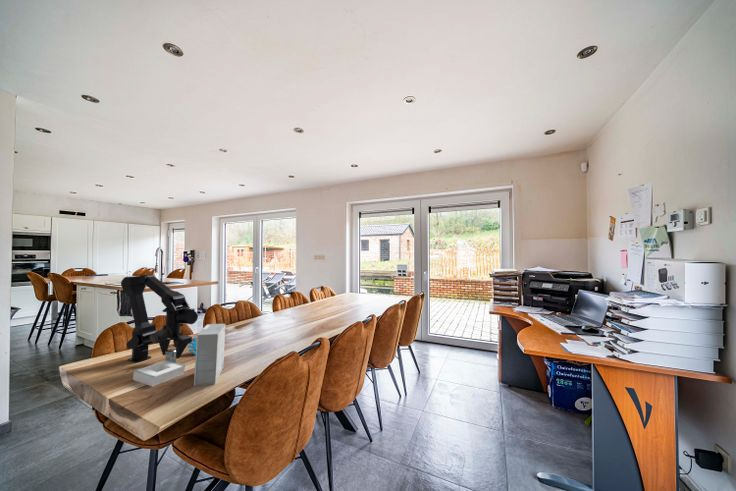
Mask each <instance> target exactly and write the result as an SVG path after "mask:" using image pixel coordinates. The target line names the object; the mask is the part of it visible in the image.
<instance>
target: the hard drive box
mask: <svg viewBox="0 0 736 491" xmlns="http://www.w3.org/2000/svg"><path fill="white" fill-rule="evenodd" d="M225 340H226V323H209V324H206V325H205V326H204V327H203V328H202V329H201V330H200V331H199V332H198V333H197V335H196V341H197V343H196V354H195V362H194V363H195V364H194V375H193V377H194V378H193V386H194V387H198V386H199V387H200V386H208V385H209V386H210V385H215V384H216V383H217V381H218V379H219V376H221V373H222V372H223V369H224V366H225V365H224V362H225V342H226V341H225Z"/></svg>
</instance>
